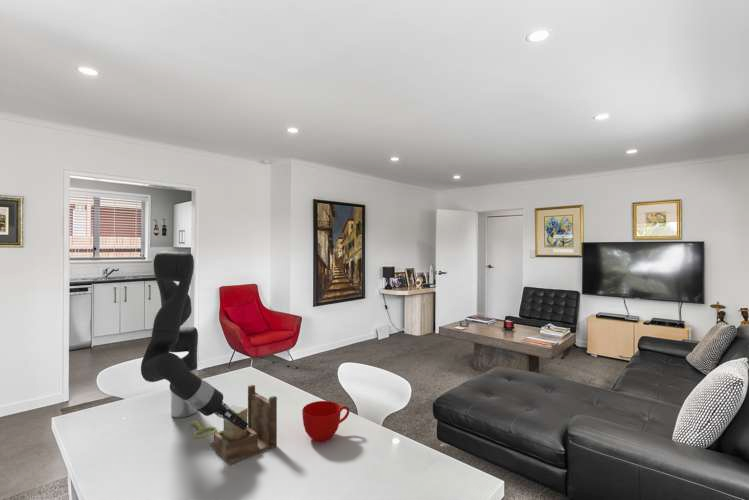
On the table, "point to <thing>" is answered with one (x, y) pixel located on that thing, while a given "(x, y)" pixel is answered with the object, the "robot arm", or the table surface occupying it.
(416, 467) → the table surface
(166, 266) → the robot arm
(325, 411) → the ceramic cup
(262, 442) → the headboard stand
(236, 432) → the skincare box
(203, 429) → the key
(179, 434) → the table surface
